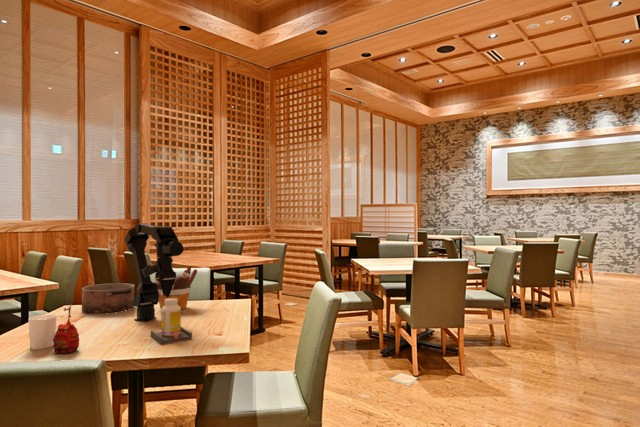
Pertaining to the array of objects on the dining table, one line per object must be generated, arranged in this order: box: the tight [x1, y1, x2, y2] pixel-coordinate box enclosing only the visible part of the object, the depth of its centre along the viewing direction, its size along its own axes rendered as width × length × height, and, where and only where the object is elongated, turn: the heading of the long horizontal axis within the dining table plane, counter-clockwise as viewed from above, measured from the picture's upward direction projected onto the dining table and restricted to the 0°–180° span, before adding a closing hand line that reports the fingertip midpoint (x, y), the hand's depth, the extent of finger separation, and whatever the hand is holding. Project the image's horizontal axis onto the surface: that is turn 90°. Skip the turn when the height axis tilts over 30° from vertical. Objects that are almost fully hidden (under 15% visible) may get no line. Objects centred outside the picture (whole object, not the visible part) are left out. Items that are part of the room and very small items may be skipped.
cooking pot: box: [81, 282, 135, 315], centre depth 200 cm, size 30×22×11 cm
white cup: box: [28, 313, 57, 351], centre depth 141 cm, size 8×8×10 cm
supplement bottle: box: [160, 298, 182, 336], centre depth 152 cm, size 7×7×13 cm
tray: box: [150, 326, 193, 345], centre depth 152 cm, size 12×11×3 cm
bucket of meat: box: [154, 265, 198, 311], centre depth 201 cm, size 20×16×20 cm
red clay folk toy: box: [52, 303, 80, 355], centre depth 136 cm, size 8×7×15 cm
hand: (166, 296), depth 167 cm, fingers open, 9 cm apart
